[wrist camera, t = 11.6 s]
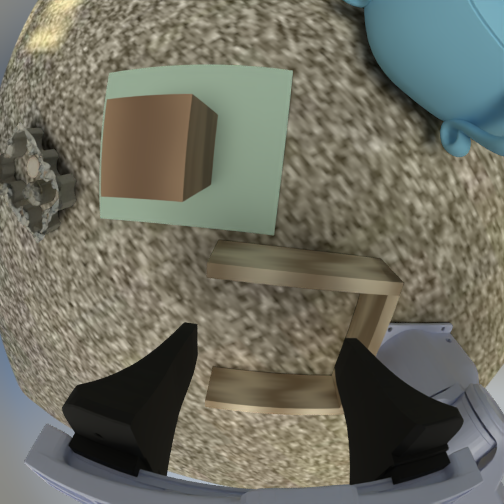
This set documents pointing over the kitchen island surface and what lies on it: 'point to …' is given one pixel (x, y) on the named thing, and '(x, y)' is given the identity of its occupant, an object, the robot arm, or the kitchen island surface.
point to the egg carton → (34, 183)
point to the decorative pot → (445, 63)
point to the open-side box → (311, 277)
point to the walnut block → (157, 147)
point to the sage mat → (218, 145)
